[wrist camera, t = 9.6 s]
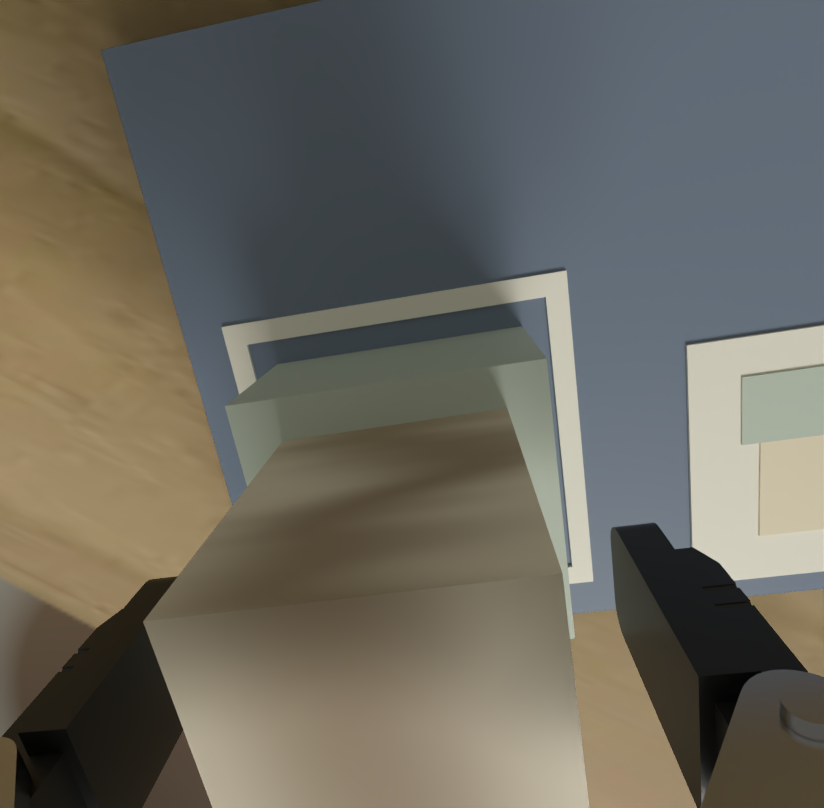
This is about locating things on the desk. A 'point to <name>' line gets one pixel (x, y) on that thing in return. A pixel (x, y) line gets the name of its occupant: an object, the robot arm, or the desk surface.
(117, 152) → the desk surface
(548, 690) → the maple block
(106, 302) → the desk surface
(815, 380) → the build board
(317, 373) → the base block
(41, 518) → the desk surface
